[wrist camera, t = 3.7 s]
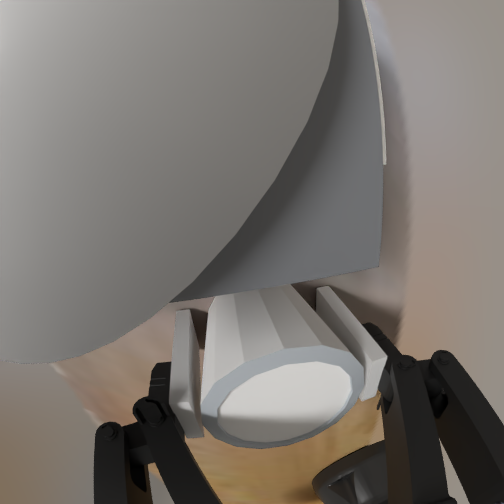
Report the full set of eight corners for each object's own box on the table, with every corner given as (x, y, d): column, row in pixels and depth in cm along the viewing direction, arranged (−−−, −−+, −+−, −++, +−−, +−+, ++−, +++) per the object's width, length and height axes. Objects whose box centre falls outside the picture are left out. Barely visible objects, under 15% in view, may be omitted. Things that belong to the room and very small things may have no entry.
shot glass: (289, 363, 18) (323, 445, 12) (187, 352, 16) (189, 448, 10) (328, 274, 16) (394, 349, 9) (211, 251, 14) (220, 337, 8)
